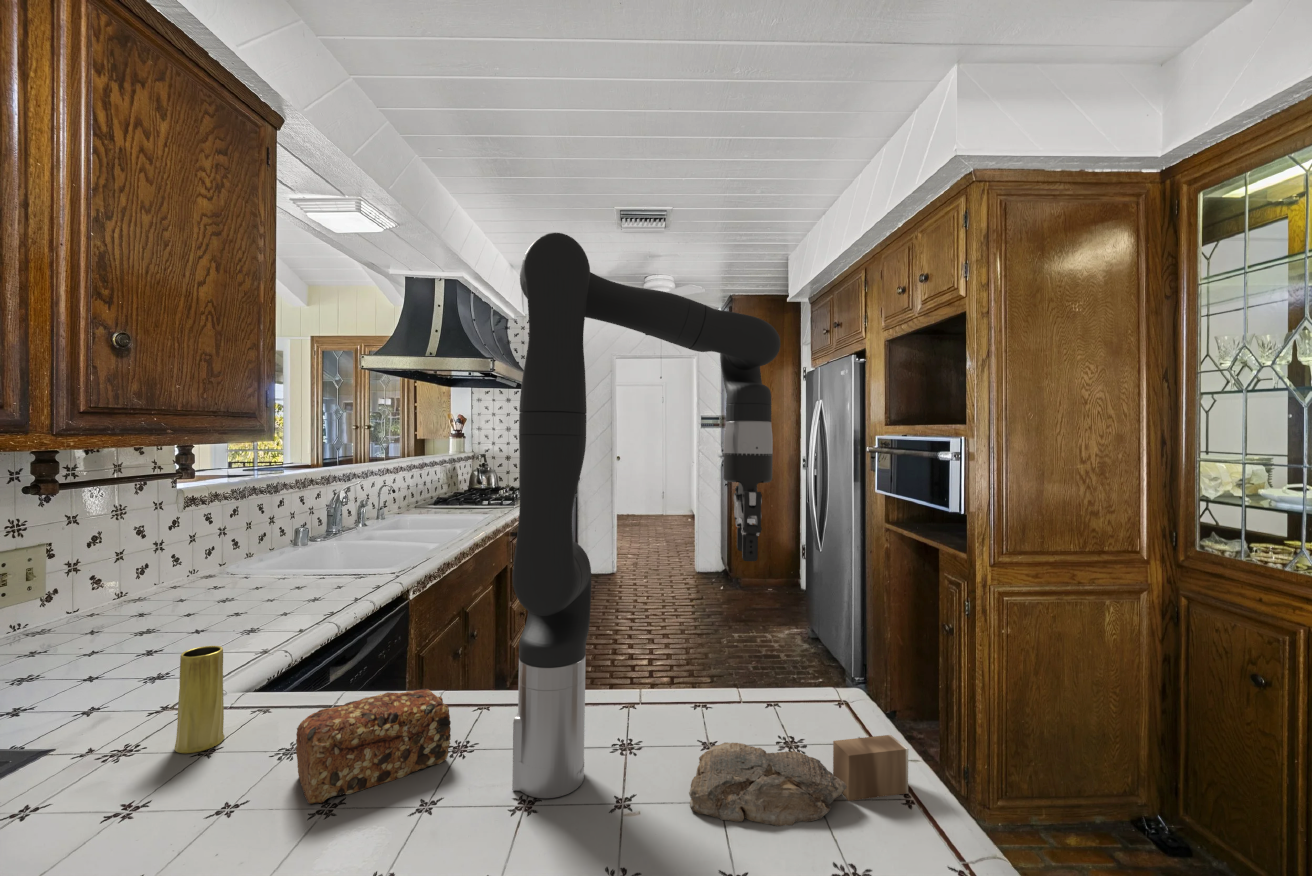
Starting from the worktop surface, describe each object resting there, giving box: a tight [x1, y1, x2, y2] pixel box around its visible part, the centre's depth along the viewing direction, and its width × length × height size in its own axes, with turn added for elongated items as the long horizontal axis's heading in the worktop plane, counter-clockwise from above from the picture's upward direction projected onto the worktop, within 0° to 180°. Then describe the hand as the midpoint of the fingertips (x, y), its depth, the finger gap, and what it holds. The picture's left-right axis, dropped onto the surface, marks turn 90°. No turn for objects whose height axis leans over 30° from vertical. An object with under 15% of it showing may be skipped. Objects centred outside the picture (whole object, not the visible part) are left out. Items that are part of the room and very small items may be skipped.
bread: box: [295, 688, 452, 805], centre depth 84 cm, size 19×11×10 cm, turn 129°
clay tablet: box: [688, 742, 847, 827], centre depth 79 cm, size 14×5×20 cm
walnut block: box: [832, 734, 909, 802], centre depth 81 cm, size 4×6×9 cm
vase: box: [174, 645, 225, 755], centre depth 91 cm, size 6×6×14 cm
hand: (746, 555), depth 91 cm, fingers open, 8 cm apart
